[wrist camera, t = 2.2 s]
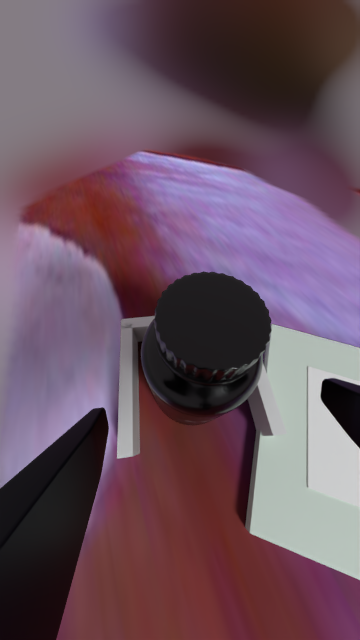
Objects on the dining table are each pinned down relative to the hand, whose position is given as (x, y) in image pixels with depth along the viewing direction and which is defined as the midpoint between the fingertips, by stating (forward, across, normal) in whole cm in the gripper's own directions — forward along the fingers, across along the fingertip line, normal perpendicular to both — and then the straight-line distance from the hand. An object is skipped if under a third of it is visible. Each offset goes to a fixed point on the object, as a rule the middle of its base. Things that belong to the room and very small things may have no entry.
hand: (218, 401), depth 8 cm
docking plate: (+5, -13, +9) cm, 17 cm away
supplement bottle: (+9, 0, +5) cm, 11 cm away
